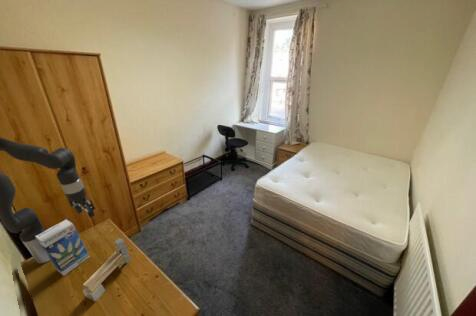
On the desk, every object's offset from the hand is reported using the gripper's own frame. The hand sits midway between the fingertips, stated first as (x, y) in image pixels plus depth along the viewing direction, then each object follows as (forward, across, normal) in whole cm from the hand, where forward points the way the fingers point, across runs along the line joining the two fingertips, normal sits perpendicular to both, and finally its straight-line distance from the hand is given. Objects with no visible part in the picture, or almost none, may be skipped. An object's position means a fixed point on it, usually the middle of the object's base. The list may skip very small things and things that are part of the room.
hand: (86, 214), depth 101 cm
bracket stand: (+30, +16, -10) cm, 36 cm away
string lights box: (+30, -11, -10) cm, 34 cm away
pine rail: (+25, +16, -10) cm, 32 cm away
